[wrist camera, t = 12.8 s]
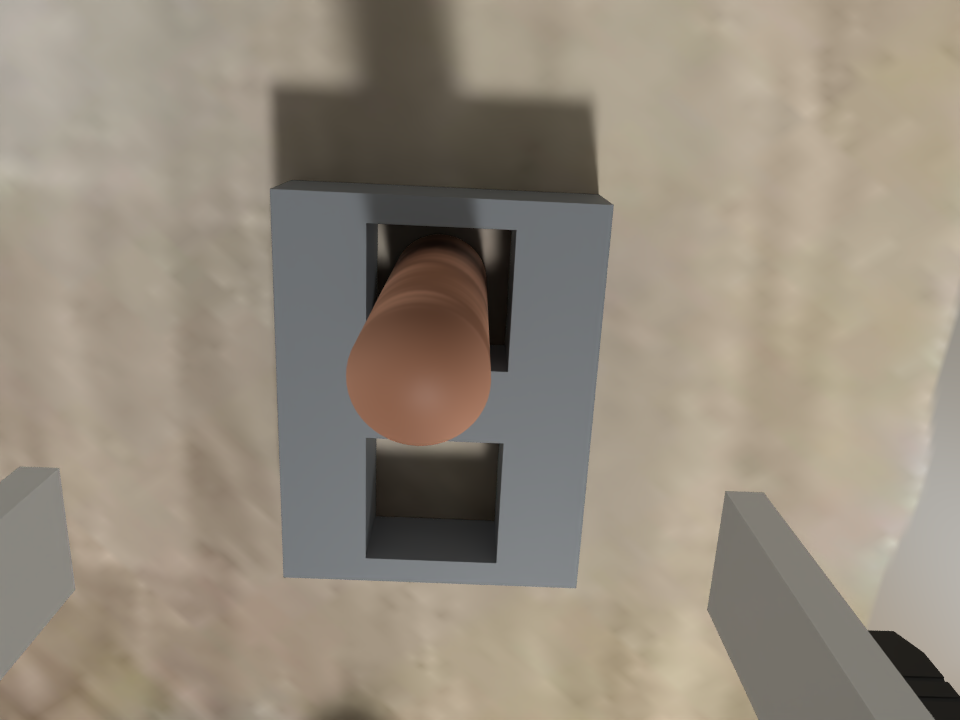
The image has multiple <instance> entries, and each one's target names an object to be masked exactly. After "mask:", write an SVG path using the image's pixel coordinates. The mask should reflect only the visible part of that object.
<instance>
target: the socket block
mask: <svg viewBox="0 0 960 720" xmlns="http://www.w3.org/2000/svg"><path fill="white" fill-rule="evenodd" d="M270 203H271V231H272V260H273V288H274V317H275V345H276V374H277V402H278V431H279V459H280V488H281V516H282V545H283V574H284V577H291V578H318V579H345V580H371V581H398V582H425V583H452V584H479V585H505V586H532V587H559V588H576V584H577V574H578V564H579V554H580V544H581V533H582V523H583V513H584V503H585V493H586V482H587V472H588V462H589V452H590V441H591V431H592V421H593V411H594V401H595V390H596V380H597V370H598V360H599V349H600V339H601V329H602V319H603V309H604V298H605V288H606V278H607V268H608V257H609V247H610V237H611V227H612V217H613V206H614V205H613V204H611V203H610V202H609V201H607V200H606V199H605V198H603V197H602V196H600V195H598V194H576V193H555V192H534V191H513V190H491V189H470V188H449V187H428V186H406V185H385V184H364V183H342V182H321V181H300V180H291V181H289V182H286V183H284V184H281V185H279V186H276V187H274V188H271V189H270ZM378 224H396V225H418V226H439V227H461V228H483V229H505V230H512V232H511V249H510V266H509V283H508V300H507V317H506V334H505V345H490V365H491V387H490V393H489V397H488V400H487V402H486V405H485V407H484V409H483V411H482V412H481V414H480V416H479V417H478V418H477V420H476V421H475V422H474V423H473V424H472V425H471V426H470V427H469V428H468V429H467V430H465V431H464V432H463V433H461V434H460V435H458V436H456V437H454V438H453V439H450V440H448V441H455V442H480V443H499V453H498V470H497V487H496V504H495V521H483V520H458V519H432V518H406V517H381V516H376V438H382V439H388V438H386V437H384V436H382V435H380V434H379V433H377V432H376V431H374V430H373V429H372V428H371V427H369V426H368V425H367V424H366V423H365V422H364V421H363V419H362V418H361V417H360V416H359V414H358V413H357V411H356V410H355V408H354V406H353V404H352V402H351V399H350V397H349V394H348V389H347V383H346V367H347V362H348V358H349V355H350V352H351V350H352V348H353V346H354V344H355V342H356V340H357V338H358V336H359V334H360V332H361V330H362V328H363V326H364V324H365V323H366V321H367V319H368V317H369V315H370V313H371V311H372V309H373V307H374V305H375V303H376V301H377V259H378Z"/></svg>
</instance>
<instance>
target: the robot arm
mask: <svg viewBox="0 0 960 720" xmlns="http://www.w3.org/2000/svg"><path fill="white" fill-rule="evenodd" d="M74 591H75V583H74V575H73V568H72V561H71V553H70V546H69V538H68V531H67V523H66V516H65V508H64V501H63V493H62V486H61V478H60V471H59V468H44V467H18V468H17V469H16V470H15V471H13V472H12V473H11V474H10V475H8V476H7V477H6V478H5V479H3V480H2V481H1V482H0V680H1V679H2V678H3V677H4V675H5V674H6V673H7V672H8V670H9V669H10V668H11V667H12V666H13V664H14V663H15V662H16V661H17V660H18V658H19V657H20V656H21V655H22V654H23V652H24V651H25V650H26V649H27V647H28V646H29V645H30V644H31V643H32V641H33V640H34V639H35V638H36V637H37V635H38V634H39V633H40V632H41V631H42V629H43V628H44V627H45V626H46V625H47V623H48V622H49V621H50V620H51V618H52V617H53V616H54V615H55V614H56V612H57V611H58V610H59V609H60V608H61V606H62V605H63V604H64V603H65V602H66V600H67V599H68V598H69V597H70V595H71V594H72V593H73V592H74ZM707 610H708V612H709V614H710V616H711V618H712V621H713V623H714V625H715V627H716V629H717V631H718V634H719V636H720V638H721V640H722V642H723V644H724V646H725V649H726V651H727V653H728V655H729V657H730V659H731V661H732V664H733V666H734V668H735V670H736V672H737V674H738V676H739V679H740V681H741V683H742V685H743V687H744V689H745V691H746V694H747V696H748V698H749V700H750V702H751V704H752V707H753V709H754V711H755V713H756V715H757V717H758V719H759V720H960V696H959V695H958V694H957V692H956V691H955V690H954V689H953V688H952V686H951V685H950V684H949V683H948V682H945V681H944V677H943V675H942V674H941V673H940V672H939V671H938V669H937V668H936V667H935V666H934V665H933V663H932V662H931V661H930V660H929V658H928V657H927V656H926V655H925V654H924V653H923V652H922V651H920V650H919V649H918V648H916V647H915V646H914V645H912V644H911V643H909V642H908V641H907V640H905V639H904V638H902V637H901V636H900V635H898V634H897V633H895V632H894V631H869V630H867V629H866V628H865V626H864V625H863V624H862V622H861V621H860V620H859V618H858V617H857V616H856V614H855V613H854V612H853V610H852V609H851V608H850V606H849V605H848V604H847V602H846V601H845V600H844V598H843V597H842V596H841V594H840V593H839V592H838V590H837V589H836V588H835V587H834V585H833V584H832V583H831V581H830V580H829V579H828V577H827V576H826V575H825V573H824V572H823V571H822V569H821V568H820V567H819V565H818V564H817V563H816V561H815V560H814V559H813V557H812V556H811V555H810V553H809V552H808V551H807V549H806V548H805V547H804V545H803V544H802V543H801V541H800V540H799V539H798V537H797V536H796V535H795V533H794V532H793V531H792V529H791V528H790V527H789V525H788V524H787V523H786V522H785V520H784V519H783V518H782V516H781V515H780V514H779V512H778V511H777V510H776V508H775V507H774V506H773V504H772V503H771V502H770V500H769V499H768V498H767V496H766V495H765V494H764V493H762V492H734V491H725V498H724V504H723V511H722V517H721V524H720V530H719V537H718V543H717V550H716V556H715V563H714V569H713V576H712V583H711V589H710V596H709V602H708V609H707Z"/></svg>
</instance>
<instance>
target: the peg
mask: <svg viewBox="0 0 960 720" xmlns="http://www.w3.org/2000/svg"><path fill="white" fill-rule="evenodd" d="M346 383H347V389H348V394H349V397H350V399H351V402H352V404H353V406H354V408H355V410H356V411H357V413H358V414H359V416H360V417H361V418H362V419H363V421H364V422H365V423H366V424H367V425H368V426H369V427H371V428H372V429H373V430H374V431H376V432H377V433H379V434H380V435H382V436H384V437H386V438H388V439H390V440H392V441H395V442H398V443H402V444H407V445H415V446H427V445H434V444H438V443H442V442H445V441H448V440H450V439H453V438H454V437H456V436H458V435H460V434H461V433H463V432H464V431H465V430H467V429H468V428H469V427H470V426H471V425H472V424H473V423H474V422H475V421H476V420H477V418H478V417H479V416H480V414H481V412H482V411H483V409H484V407H485V405H486V402H487V400H488V397H489V393H490V387H491V365H490V344H489V323H488V303H487V282H486V272H485V268H484V265H483V262H482V260H481V258H480V257H479V255H478V254H477V252H476V251H475V250H474V249H473V248H472V247H471V246H470V245H469V244H467V243H466V242H464V241H463V240H461V239H459V238H456V237H454V236H450V235H443V234H435V235H428V236H425V237H422V238H420V239H418V240H416V241H414V242H413V243H411V244H410V245H409V246H408V247H407V248H406V249H405V250H404V251H403V252H402V254H401V255H400V257H399V259H398V261H397V263H396V264H395V266H394V268H393V270H392V272H391V274H390V276H389V278H388V280H387V282H386V284H385V286H384V288H383V290H382V292H381V294H380V295H379V297H378V299H377V301H376V303H375V305H374V307H373V309H372V311H371V313H370V315H369V317H368V319H367V321H366V323H365V324H364V326H363V328H362V330H361V332H360V334H359V336H358V338H357V340H356V342H355V344H354V346H353V348H352V350H351V352H350V355H349V358H348V362H347V367H346Z"/></svg>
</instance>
